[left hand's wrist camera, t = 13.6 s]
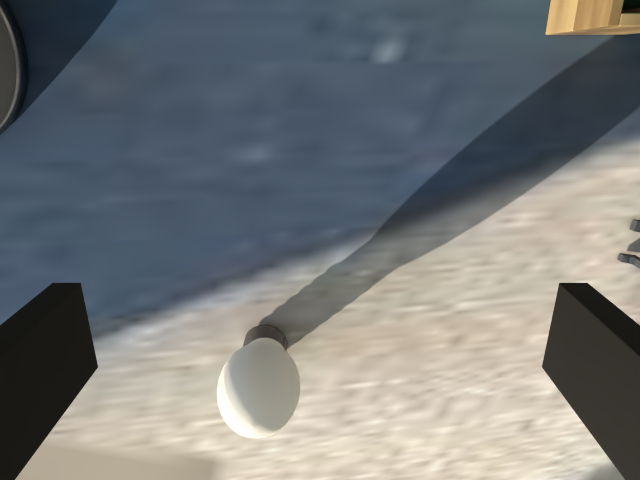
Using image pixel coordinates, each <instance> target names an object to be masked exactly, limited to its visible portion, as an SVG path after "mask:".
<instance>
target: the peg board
mask: <svg viewBox="0 0 640 480" xmlns="http://www.w3.org/2000/svg"><path fill="white" fill-rule="evenodd" d="M623 2H624V0H551V3H550V10H549V16H548V22H547V29H546V35H625V34H635V33H640V8H636V9H630V10H622V7H623Z"/></svg>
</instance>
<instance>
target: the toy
mask: <svg viewBox="0 0 640 480" xmlns="http://www.w3.org/2000/svg"><path fill="white" fill-rule="evenodd" d="M630 229H631V230H633V231H636V232H640V220H634V219H633V222H632V224H631V226H630ZM618 260H619V261H621V262H625V263H630V264H633V265H635V266H636V267H638V268H640V258H639V257H637V256H636V255H629V254H622V253H620V254H619V256H618Z"/></svg>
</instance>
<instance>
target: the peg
mask: <svg viewBox="0 0 640 480" xmlns="http://www.w3.org/2000/svg"><path fill="white" fill-rule="evenodd" d="M636 8H640V0H624V2H623V7H622V10H630V9H636Z"/></svg>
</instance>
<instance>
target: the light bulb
mask: <svg viewBox="0 0 640 480" xmlns="http://www.w3.org/2000/svg"><path fill="white" fill-rule="evenodd" d="M286 349H287V341H286V339H285V337H284V335H283V334H282V333H281V332H280V331H279V330H277V329H275V328H273V327H270V326H264V325H262V326H256V327H254V328H252V329H251V330H249V331H248V333H247V334H246V337H245V341H244V344H243V347H242V348H241V349H239V350H238V351H236V352H235V353H234V354H233V355H232V356H231V357H230V359H229V360H228V361H227V363H226V364H225V366H224V368H223V370H222V372H221V375H220V378H219V382H218V388H217V400H218V406H219V410H220V413H221V415H222V417H223V419H224V420H225V422H226V423H227V425H228V426H229V427H230V428H231V429H232V430H233V431H235V432H236V433H238V434H240V435H242V436H244V437H248V438H263V437H267V436H270V435H272V434H274V433H275V432H277V431H278V430H280V429H281V428H282V427H283V426H284V425H285V424H286V423H287V422H288V420H289V419H290V418H291V416H292V415H293V413H294V411H295V408H296V406H297V404H298V399H299V394H300V376H299V373H298V370H297V367H296V364H295V362H294V361H293V359H292V358H291V356H290V355H289V354H288V353H287V352H286Z"/></svg>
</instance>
